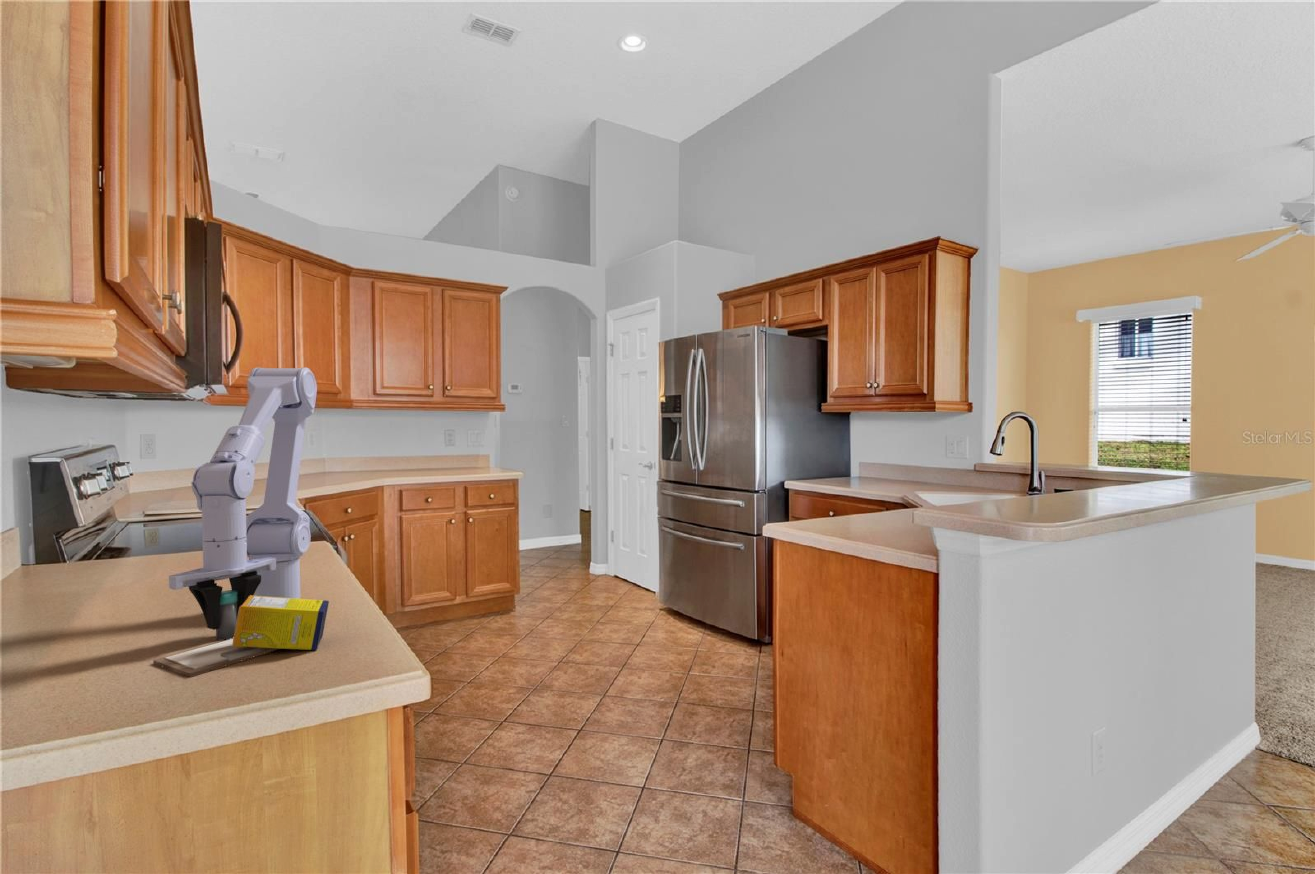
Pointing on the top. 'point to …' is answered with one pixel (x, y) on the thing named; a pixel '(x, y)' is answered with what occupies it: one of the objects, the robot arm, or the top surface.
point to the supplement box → (280, 623)
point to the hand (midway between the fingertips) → (226, 624)
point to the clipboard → (209, 657)
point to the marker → (227, 614)
